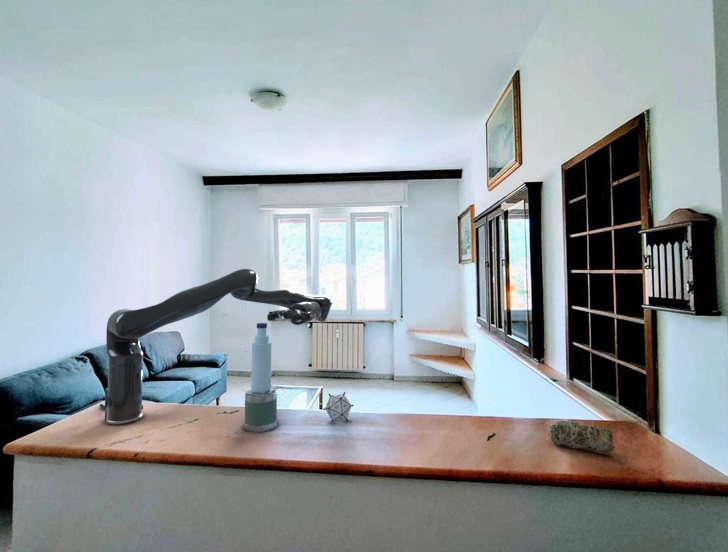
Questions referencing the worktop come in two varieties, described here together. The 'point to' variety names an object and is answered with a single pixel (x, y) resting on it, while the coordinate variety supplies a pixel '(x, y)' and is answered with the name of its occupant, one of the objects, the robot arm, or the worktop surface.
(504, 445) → the worktop surface
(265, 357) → the bottle
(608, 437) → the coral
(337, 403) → the game die
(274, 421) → the tin
